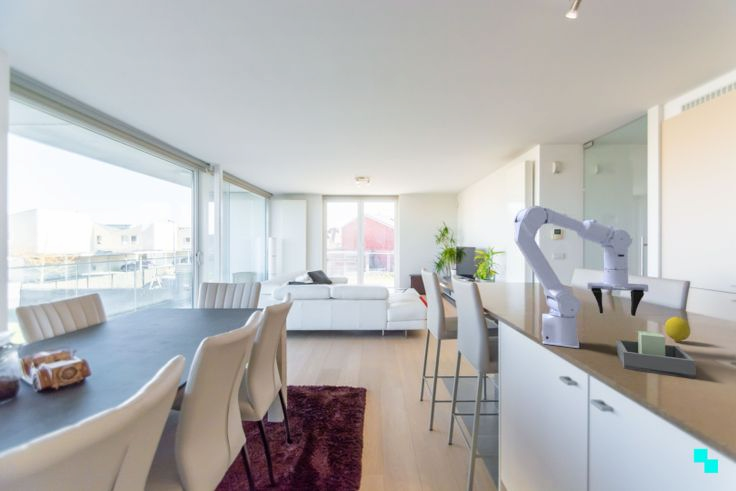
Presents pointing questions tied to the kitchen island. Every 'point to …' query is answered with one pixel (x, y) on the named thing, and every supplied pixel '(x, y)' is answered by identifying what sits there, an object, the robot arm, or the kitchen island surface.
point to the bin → (656, 360)
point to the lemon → (677, 329)
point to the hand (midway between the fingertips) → (616, 314)
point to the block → (651, 343)
